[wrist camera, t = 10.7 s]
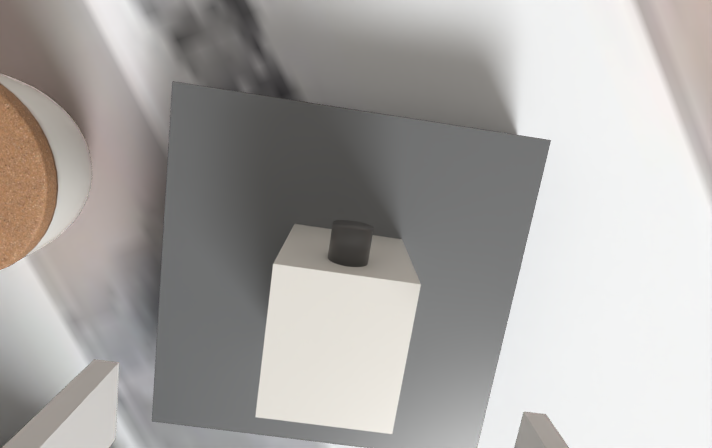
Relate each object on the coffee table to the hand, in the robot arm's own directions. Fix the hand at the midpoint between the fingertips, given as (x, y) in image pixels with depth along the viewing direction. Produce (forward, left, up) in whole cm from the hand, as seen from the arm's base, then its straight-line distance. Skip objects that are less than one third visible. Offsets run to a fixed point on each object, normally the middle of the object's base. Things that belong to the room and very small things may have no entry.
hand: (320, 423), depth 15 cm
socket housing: (0, 0, -17) cm, 17 cm away
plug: (0, 0, -15) cm, 15 cm away
